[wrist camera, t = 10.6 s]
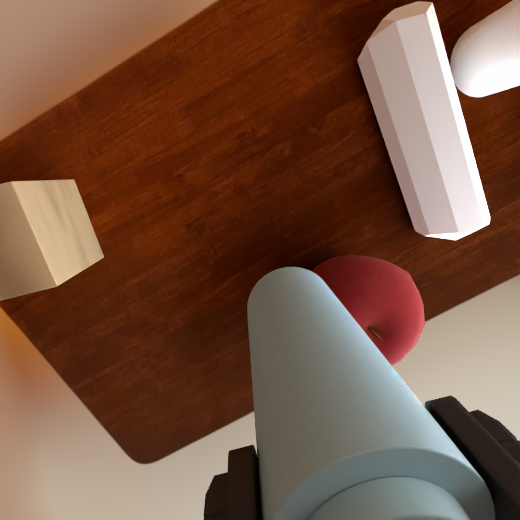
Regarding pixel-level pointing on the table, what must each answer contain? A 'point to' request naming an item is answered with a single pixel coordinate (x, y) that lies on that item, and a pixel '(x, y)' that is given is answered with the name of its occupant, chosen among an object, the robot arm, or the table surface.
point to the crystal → (423, 123)
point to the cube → (43, 236)
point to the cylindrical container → (489, 54)
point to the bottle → (343, 418)
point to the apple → (377, 301)
